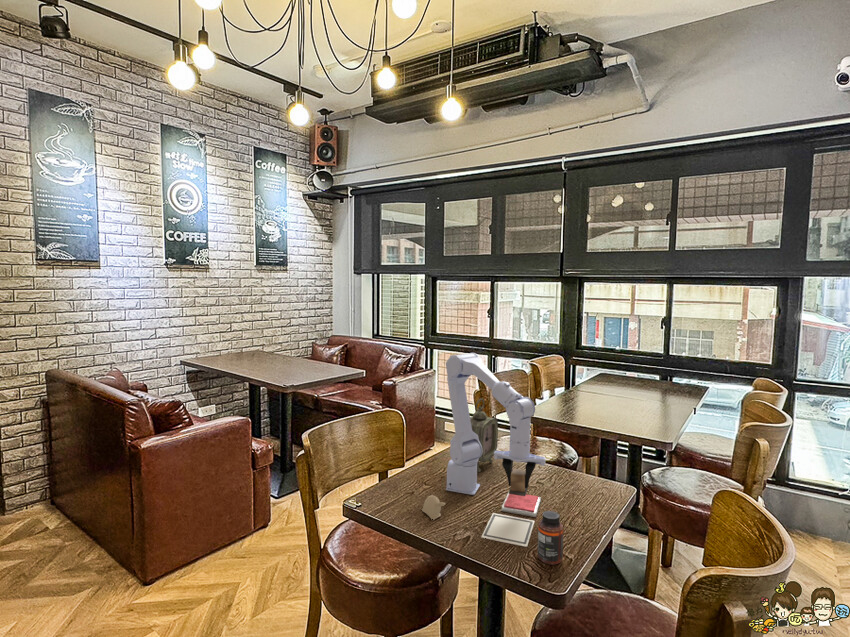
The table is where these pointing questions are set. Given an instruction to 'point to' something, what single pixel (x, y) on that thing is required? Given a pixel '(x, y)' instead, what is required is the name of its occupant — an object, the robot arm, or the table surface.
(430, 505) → the decorative ornament
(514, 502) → the ink pad
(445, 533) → the table surface
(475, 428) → the tabletop clock
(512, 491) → the stamp
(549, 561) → the supplement bottle
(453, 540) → the table surface
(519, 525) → the paper card
